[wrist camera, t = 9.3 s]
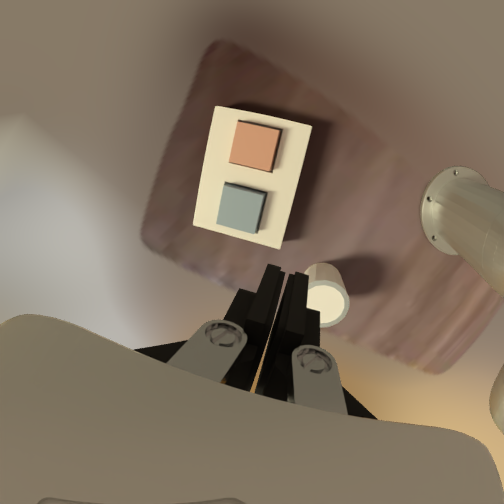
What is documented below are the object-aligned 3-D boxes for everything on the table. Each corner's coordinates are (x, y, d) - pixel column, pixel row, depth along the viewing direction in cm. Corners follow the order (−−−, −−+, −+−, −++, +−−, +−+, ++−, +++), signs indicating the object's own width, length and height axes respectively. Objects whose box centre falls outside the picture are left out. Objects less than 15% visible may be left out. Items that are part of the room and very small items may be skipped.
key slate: (266, 192, 38) (263, 195, 36) (257, 228, 40) (254, 234, 38) (228, 182, 38) (223, 185, 36) (221, 219, 40) (216, 223, 38)
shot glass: (326, 248, 41) (327, 269, 34) (354, 283, 42) (360, 308, 35) (288, 277, 43) (283, 301, 37) (317, 309, 44) (316, 336, 38)
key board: (312, 127, 35) (311, 126, 33) (282, 241, 42) (279, 249, 39) (222, 108, 37) (215, 105, 34) (200, 219, 43) (192, 224, 40)
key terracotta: (281, 131, 35) (279, 130, 33) (272, 169, 37) (269, 171, 35) (242, 122, 35) (237, 121, 33) (233, 160, 37) (228, 161, 35)
